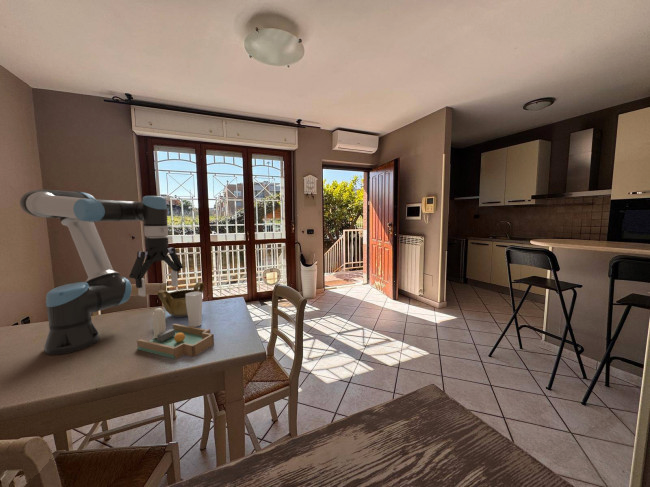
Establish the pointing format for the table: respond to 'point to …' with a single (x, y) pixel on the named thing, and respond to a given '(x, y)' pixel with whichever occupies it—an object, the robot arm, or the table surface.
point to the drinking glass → (194, 308)
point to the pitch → (179, 343)
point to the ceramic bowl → (178, 300)
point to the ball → (179, 337)
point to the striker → (161, 326)
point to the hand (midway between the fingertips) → (159, 290)
